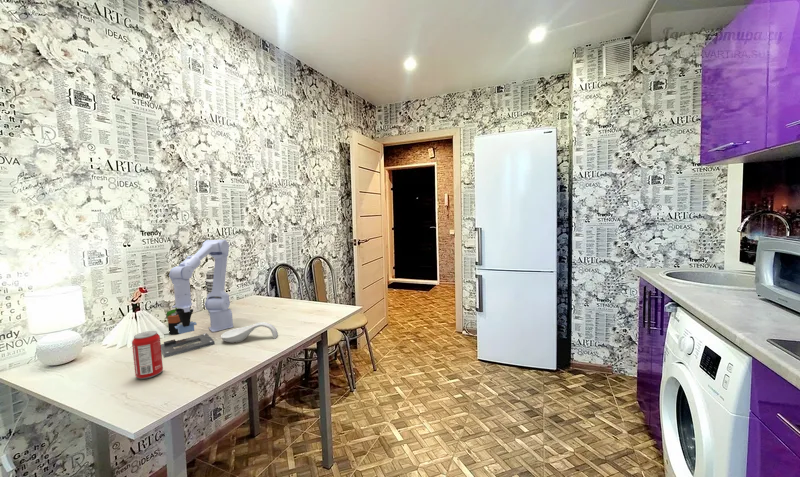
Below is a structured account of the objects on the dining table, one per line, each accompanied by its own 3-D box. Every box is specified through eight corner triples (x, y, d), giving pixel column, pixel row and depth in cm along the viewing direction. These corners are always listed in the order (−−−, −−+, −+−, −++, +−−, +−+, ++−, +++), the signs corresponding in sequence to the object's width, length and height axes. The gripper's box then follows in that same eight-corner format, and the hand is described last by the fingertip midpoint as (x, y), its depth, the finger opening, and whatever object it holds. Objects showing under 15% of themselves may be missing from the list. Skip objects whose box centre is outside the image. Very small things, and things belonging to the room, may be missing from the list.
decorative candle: (205, 313, 190) (201, 270, 188) (222, 309, 197) (218, 268, 195) (211, 316, 184) (207, 272, 182) (228, 312, 191) (225, 269, 189)
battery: (186, 329, 165) (184, 309, 164) (178, 334, 158) (176, 314, 157) (177, 330, 164) (175, 310, 164) (168, 335, 158) (166, 314, 157)
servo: (195, 328, 147) (194, 319, 146) (197, 330, 144) (196, 320, 144) (175, 332, 142) (174, 323, 141) (176, 334, 139) (175, 325, 139)
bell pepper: (180, 327, 168) (178, 308, 167) (164, 328, 168) (162, 308, 167) (190, 322, 176) (189, 303, 176) (175, 322, 176) (173, 304, 176)
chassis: (206, 335, 155) (206, 331, 155) (214, 344, 144) (214, 339, 144) (159, 347, 143) (159, 342, 143) (164, 357, 132) (163, 352, 132)
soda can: (141, 382, 113) (137, 339, 111) (131, 377, 117) (127, 335, 115) (167, 372, 119) (163, 332, 118) (157, 367, 123) (153, 328, 122)
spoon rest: (216, 346, 142) (215, 330, 142) (227, 336, 154) (226, 321, 153) (273, 342, 145) (272, 326, 144) (280, 332, 157) (279, 317, 156)
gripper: (168, 293, 144) (171, 323, 145) (174, 299, 134) (177, 331, 135) (187, 290, 149) (190, 319, 150) (194, 295, 138) (197, 327, 139)
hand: (185, 325), depth 143 cm, fingers closed on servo, 3 cm apart
